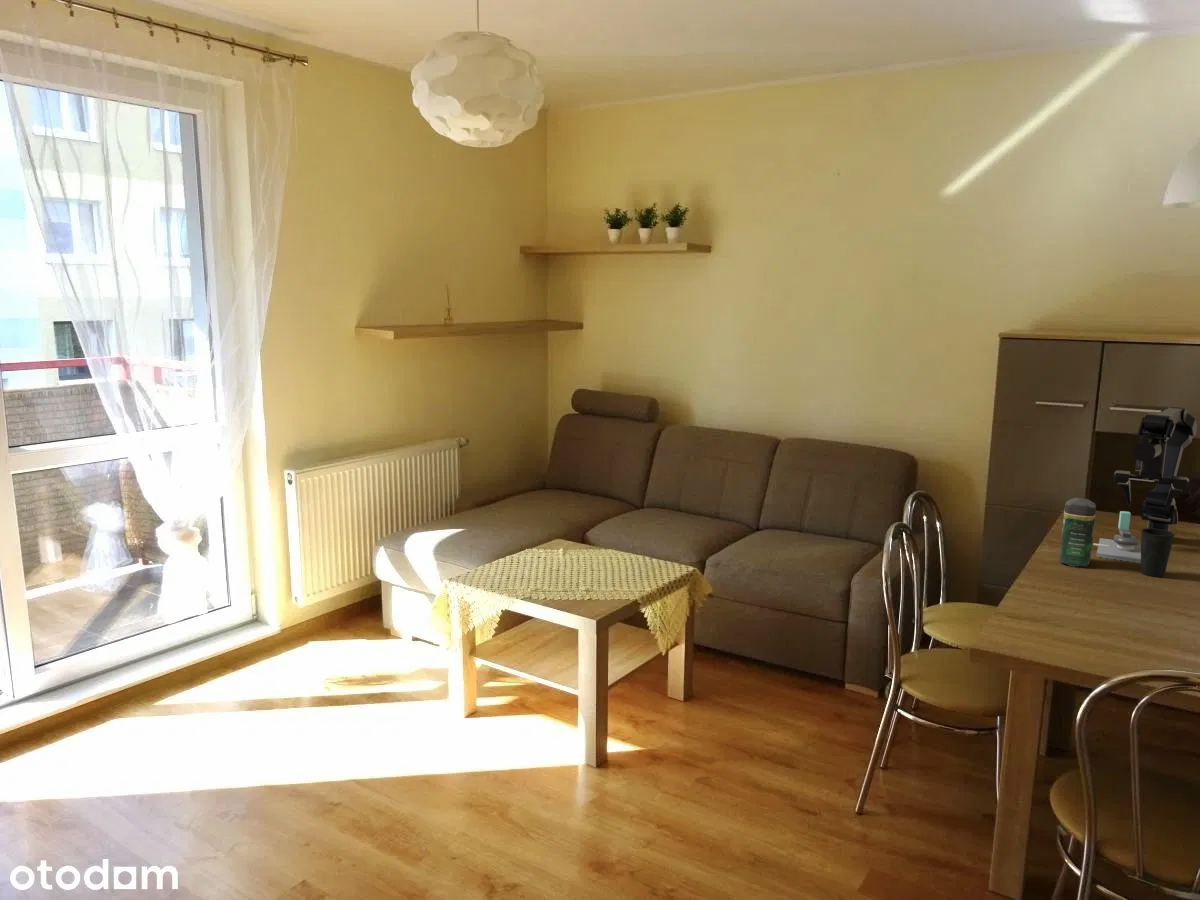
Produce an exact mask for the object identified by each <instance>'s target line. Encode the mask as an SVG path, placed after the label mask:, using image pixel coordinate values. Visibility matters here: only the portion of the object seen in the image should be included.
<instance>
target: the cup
mask: <svg viewBox="0 0 1200 900" xmlns="http://www.w3.org/2000/svg"><path fill="white" fill-rule="evenodd" d="M1174 538H1175V533H1174V532H1172V531H1170V530H1169V531H1167V530H1162V529H1154V528H1147V527H1145V528H1142V529H1141V530H1140V543H1141V563H1140V573H1142V575H1143V576H1145V577H1146V576H1147V577H1150V576H1151V577H1150V578H1164V577H1165V574H1166V571H1167V566H1168V562H1169V558H1170V554H1171V550H1172V546H1173V541H1174ZM1163 576H1164V577H1163Z"/></svg>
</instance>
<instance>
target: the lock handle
mask: <svg viewBox="0 0 1200 900" xmlns="http://www.w3.org/2000/svg"><path fill="white" fill-rule="evenodd" d="M1131 515H1132V514H1131V512H1130V511H1124V510H1123V511H1122V510H1120V511H1119V518H1118V526H1117V527H1118V532H1119V534H1114V536H1113V540H1114V542H1116V543H1119V544H1123V545H1138V544H1139V543H1140V538H1139V537H1137V536H1133V535H1132V533H1131V532H1130V531H1129V530H1130V523H1131Z"/></svg>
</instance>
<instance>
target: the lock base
mask: <svg viewBox="0 0 1200 900" xmlns="http://www.w3.org/2000/svg"><path fill="white" fill-rule="evenodd" d="M1092 546H1097V549H1096V555H1095V558H1099V557H1102V558H1101V559H1106V558H1108V560H1113V559H1116V560H1115V561H1120V560H1122V561H1121V562H1127V561H1129V563H1134V562H1135V563H1136V564H1141V542H1139V544H1138V545H1123V544H1119V543H1116V542H1114V539H1110V538H1102V537H1099V542H1098V543H1095V542H1094V543H1092Z"/></svg>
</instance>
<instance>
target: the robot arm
mask: <svg viewBox="0 0 1200 900" xmlns="http://www.w3.org/2000/svg"><path fill="white" fill-rule="evenodd" d="M1140 421H1141V422H1140V425H1139V427H1138V430H1137V433H1136V438H1140V439H1141V441H1140V442H1138V443H1136V444H1135V445H1134V446H1133V448H1132V455H1133V457H1134V458H1135V459H1136V462H1135V472H1139V474H1131V471H1129V470H1115V471H1114V473H1113V478H1112V479H1113V480H1112V482H1113V483H1117V486H1121V488H1122V490H1123V492H1124V495H1125V499H1126V502H1127V506H1128V507H1131V502H1132V498H1131V497H1132V496H1131V495H1132V494H1131V482H1140V483H1148V484H1155V488H1153V489H1152V490H1148V492H1147V494H1146V496H1145V500H1143V501H1142V504H1141V520H1142V521H1147V526H1146V528H1154V529H1162V530H1167V531H1170V525H1172V526H1173V525H1178V523H1179V514H1178V510H1177V505H1176V503H1177V502H1176V499H1175V497H1176V496H1177V494H1178V493H1183V491H1187V490H1189V486H1190V485H1189V484H1190V479H1189V478H1188V477H1187V476H1177V474H1178V470H1179V466H1180V463H1181V460H1182V455H1183V452H1184V449H1185V448H1187V447H1188V446H1190V444H1191V443H1192V442H1193V438H1194V437H1195V436H1196V434H1197V431H1198V425H1197V420H1196V418H1195V417H1194V416H1192V415H1191V414H1190V413H1189V412H1188V409H1187V408H1185V407H1183V406H1181V407H1180V406H1171V405H1170V406H1167V407H1166V408H1165V409H1164V410H1162V411H1160V412H1158V413H1151V412H1150V413H1149V412H1148V413H1146V414H1145V415H1144V416H1142V418H1141V420H1140Z"/></svg>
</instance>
